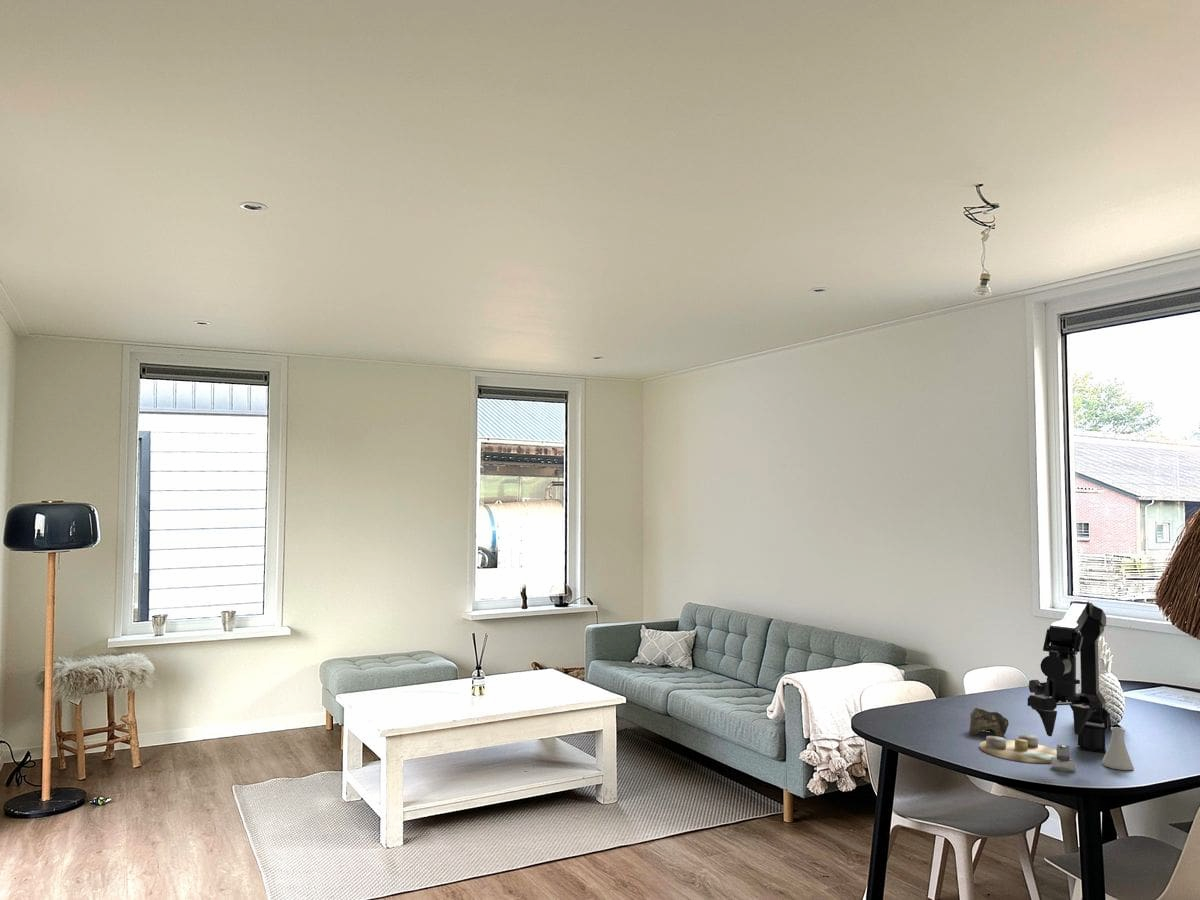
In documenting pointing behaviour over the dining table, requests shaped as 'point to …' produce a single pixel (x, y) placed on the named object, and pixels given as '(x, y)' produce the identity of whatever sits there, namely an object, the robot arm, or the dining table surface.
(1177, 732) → the dining table surface
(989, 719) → the fossil
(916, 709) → the dining table surface
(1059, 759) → the silver metal knob
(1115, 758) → the flask
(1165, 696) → the dining table surface
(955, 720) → the dining table surface
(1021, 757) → the carrier plate
